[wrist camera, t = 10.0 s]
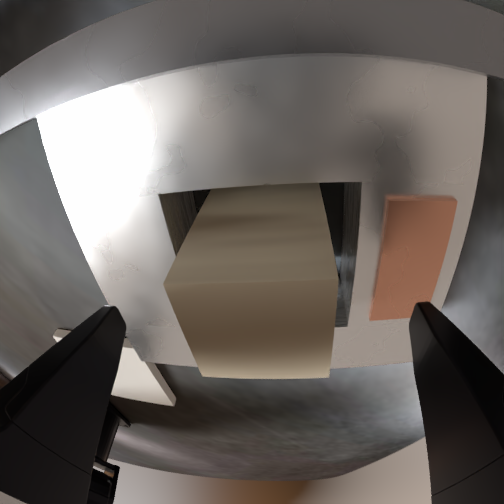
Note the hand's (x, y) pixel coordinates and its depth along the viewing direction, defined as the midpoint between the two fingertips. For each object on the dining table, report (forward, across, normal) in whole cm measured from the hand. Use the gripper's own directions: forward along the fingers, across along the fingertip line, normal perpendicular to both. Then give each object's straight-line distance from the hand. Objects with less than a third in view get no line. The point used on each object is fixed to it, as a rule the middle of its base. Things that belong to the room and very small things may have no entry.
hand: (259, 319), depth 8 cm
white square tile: (+5, +13, +12) cm, 18 cm away
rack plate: (+5, 0, -1) cm, 5 cm away
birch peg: (+5, 0, 0) cm, 5 cm away
